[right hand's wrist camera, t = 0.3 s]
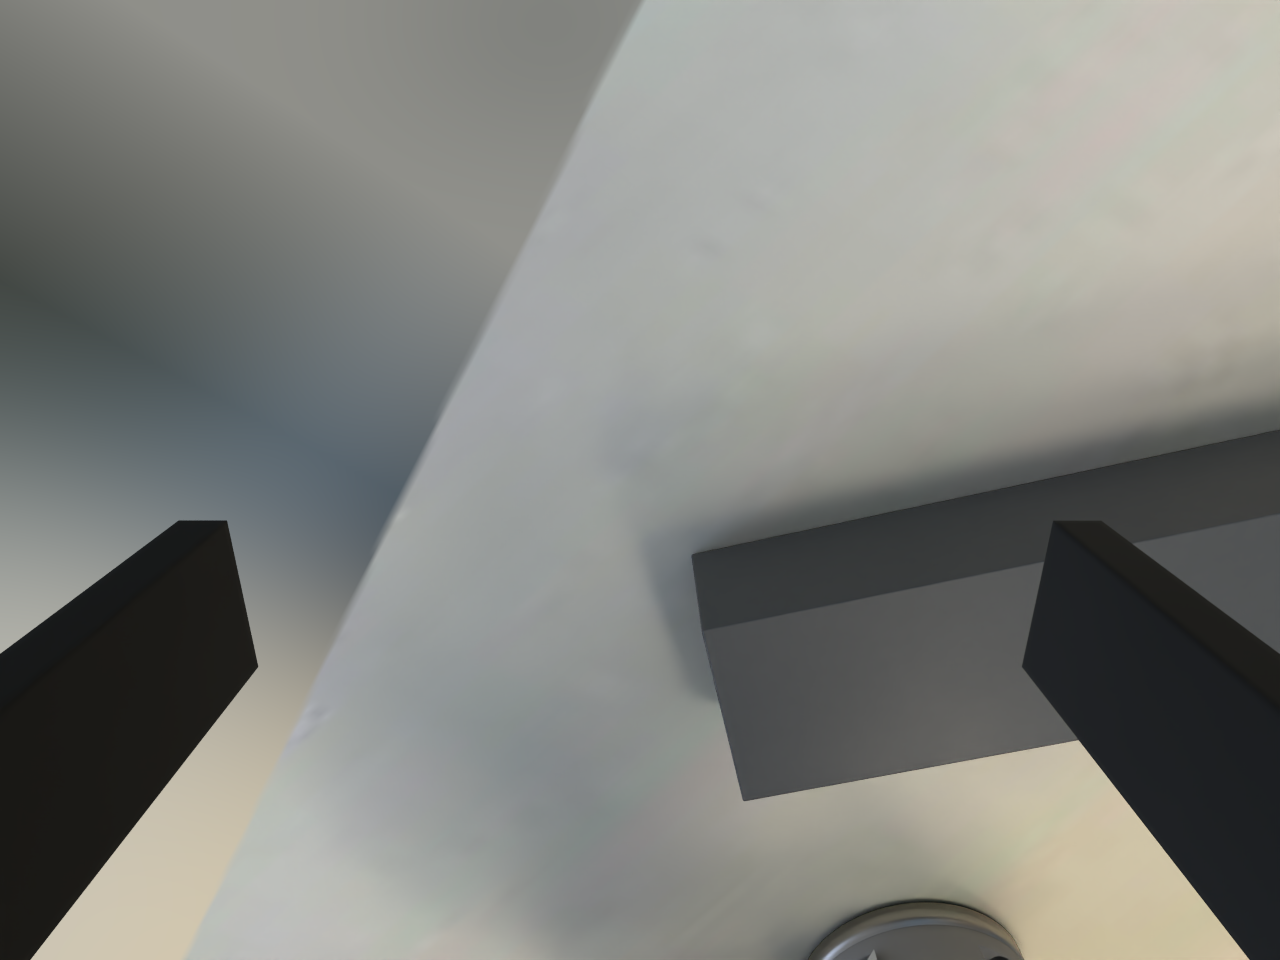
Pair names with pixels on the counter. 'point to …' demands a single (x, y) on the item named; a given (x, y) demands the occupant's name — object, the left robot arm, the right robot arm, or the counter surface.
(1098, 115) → the counter surface
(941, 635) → the dark gray long bar
